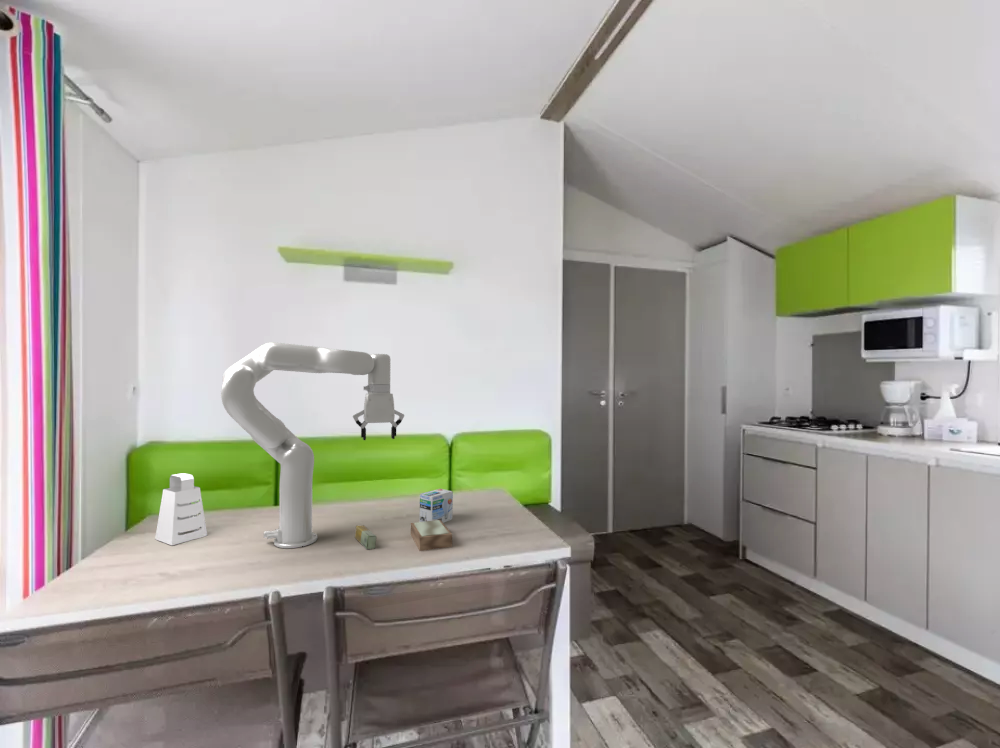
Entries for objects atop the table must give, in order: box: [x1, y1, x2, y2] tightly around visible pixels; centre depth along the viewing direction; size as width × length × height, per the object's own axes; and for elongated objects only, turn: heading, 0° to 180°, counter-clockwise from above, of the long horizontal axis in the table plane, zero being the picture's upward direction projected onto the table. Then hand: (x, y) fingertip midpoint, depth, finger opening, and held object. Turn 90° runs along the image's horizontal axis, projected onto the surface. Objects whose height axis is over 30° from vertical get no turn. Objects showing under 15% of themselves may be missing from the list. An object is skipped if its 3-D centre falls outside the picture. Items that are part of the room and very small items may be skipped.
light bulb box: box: [419, 488, 454, 523], centre depth 171 cm, size 11×7×11 cm, turn 143°
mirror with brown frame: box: [410, 520, 453, 552], centre depth 152 cm, size 10×15×4 cm, turn 21°
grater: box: [154, 472, 208, 546], centre depth 154 cm, size 10×10×20 cm
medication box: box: [354, 524, 377, 551], centre depth 150 cm, size 12×3×4 cm, turn 35°
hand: (378, 439), depth 166 cm, fingers open, 9 cm apart
